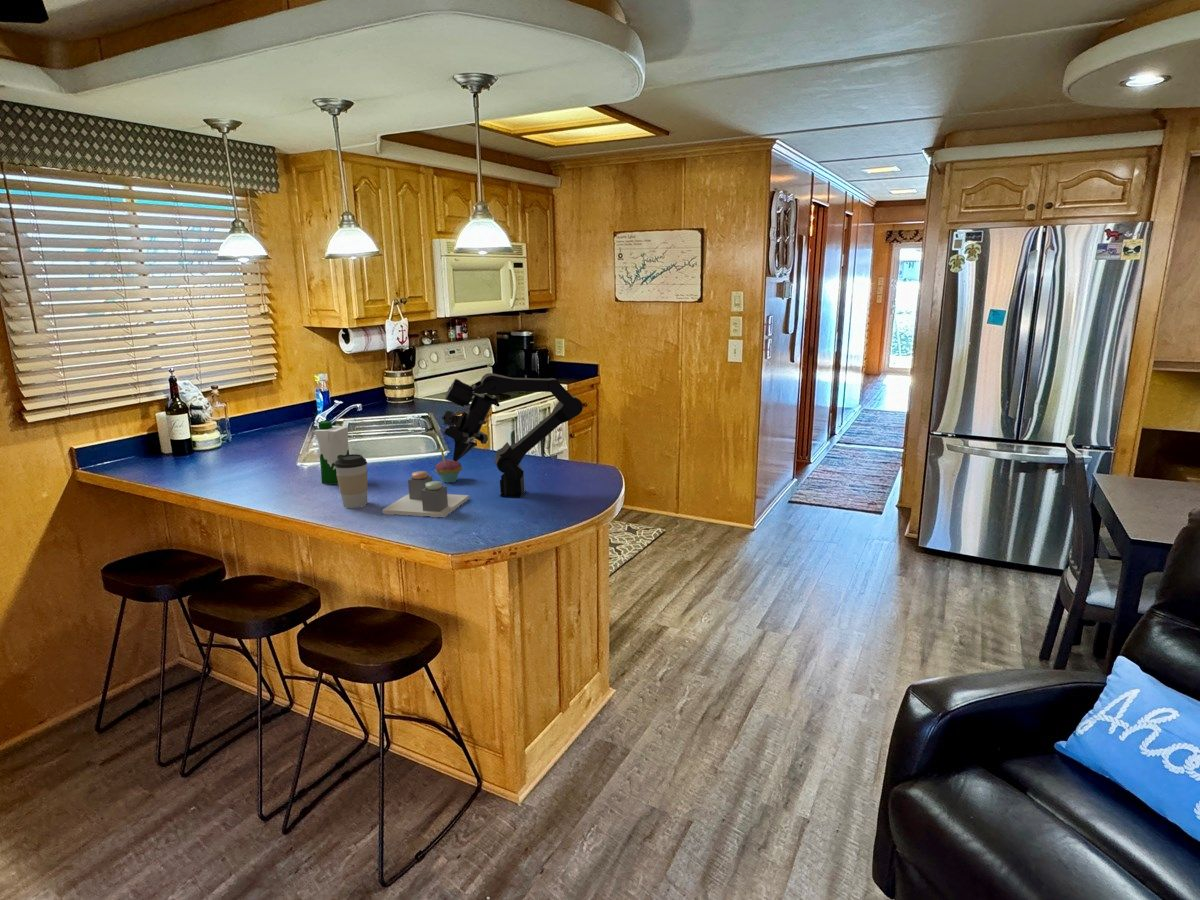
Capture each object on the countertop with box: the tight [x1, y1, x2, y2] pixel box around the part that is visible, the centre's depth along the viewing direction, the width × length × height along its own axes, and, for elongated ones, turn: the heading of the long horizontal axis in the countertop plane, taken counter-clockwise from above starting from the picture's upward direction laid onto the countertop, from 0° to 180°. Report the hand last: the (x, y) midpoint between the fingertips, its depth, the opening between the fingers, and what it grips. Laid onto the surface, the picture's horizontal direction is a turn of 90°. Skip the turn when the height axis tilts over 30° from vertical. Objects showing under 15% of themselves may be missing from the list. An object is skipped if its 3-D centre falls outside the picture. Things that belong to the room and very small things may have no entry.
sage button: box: [425, 480, 443, 491], centre depth 195 cm, size 5×5×7 cm
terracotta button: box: [411, 470, 429, 480], centre depth 206 cm, size 5×5×7 cm
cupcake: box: [434, 445, 463, 484], centre depth 226 cm, size 9×8×12 cm
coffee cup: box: [335, 453, 369, 509], centre depth 203 cm, size 9×9×15 cm
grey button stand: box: [382, 475, 470, 518], centre depth 201 cm, size 19×17×7 cm
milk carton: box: [313, 420, 350, 485], centre depth 227 cm, size 9×9×20 cm
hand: (454, 460), depth 205 cm, fingers closed
